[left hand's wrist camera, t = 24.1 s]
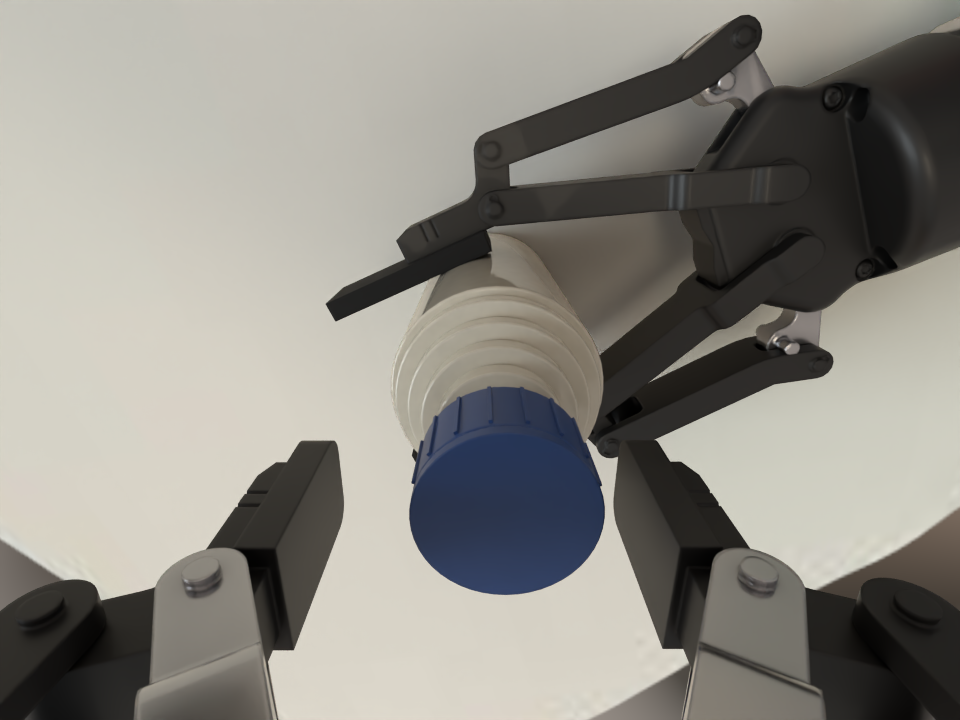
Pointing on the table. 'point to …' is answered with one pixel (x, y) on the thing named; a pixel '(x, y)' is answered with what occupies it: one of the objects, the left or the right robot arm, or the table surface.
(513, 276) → the bottle
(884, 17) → the table surface
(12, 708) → the left robot arm
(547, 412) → the cap
